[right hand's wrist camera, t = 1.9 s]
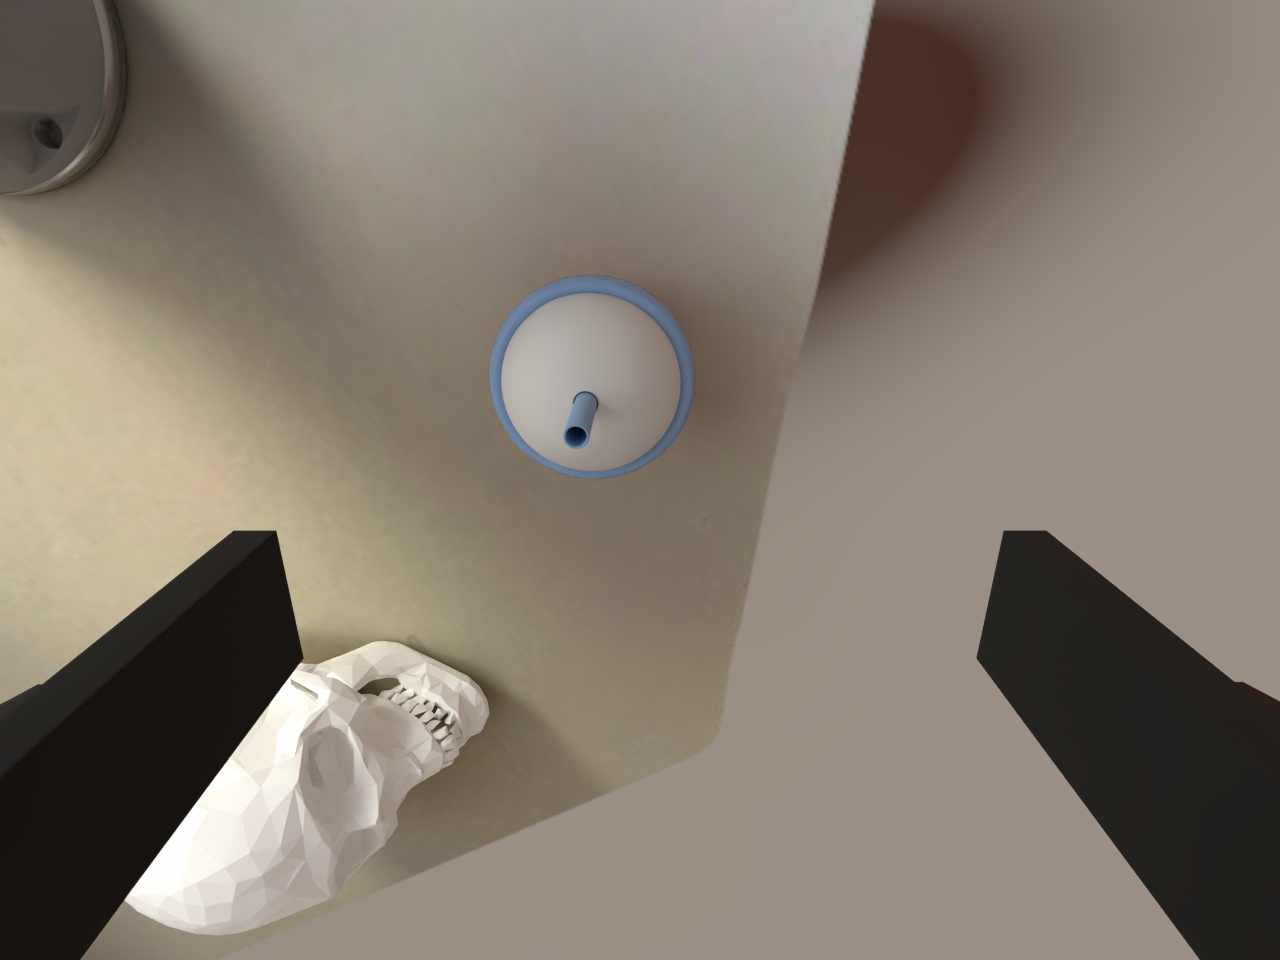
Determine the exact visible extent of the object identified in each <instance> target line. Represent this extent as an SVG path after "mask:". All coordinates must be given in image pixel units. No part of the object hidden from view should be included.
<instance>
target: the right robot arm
mask: <svg viewBox="0 0 1280 960" xmlns="http://www.w3.org/2000/svg"><path fill="white" fill-rule="evenodd" d="M125 92H126V56H125V48H124V42H123V36H122V32H121V27H120V23H119V19H118V16H117V13H116V10H115V7H114V4H113V1H112V0H0V194H5V195H26V194H35V193H41V192H46V191H50V190H53V189H56V188H59V187H61V186H64V185H66V184H68V183H70V182H72V181H74V180H75V179H77V178H78V177H80V176H81V175H83V174H84V173H85V172H86V171H88V170H89V169H90V168H91V167H92V166H93V165H94V164H95V163H96V162H97V161H98V159H99V158H100V157H101V156H102V155H103V153H104V152H105V150H106V149H107V147H108V146H109V144H110V142H111V140H112V138H113V136H114V134H115V132H116V130H117V127H118V124H119V121H120V118H121V114H122V110H123V106H124V100H125ZM302 660H303V654H302V649H301V644H300V640H299V635H298V630H297V626H296V621H295V616H294V612H293V607H292V602H291V598H290V593H289V588H288V583H287V579H286V574H285V569H284V565H283V560H282V555H281V551H280V546H279V541H278V537H277V532H276V531H233V532H232V533H230V534H229V535H228V536H227V537H225V538H224V539H223V540H222V541H220V542H219V543H218V544H217V545H215V546H214V547H213V548H212V549H210V550H209V551H208V552H207V553H205V554H204V555H203V556H202V557H200V558H199V559H198V560H197V561H195V562H194V563H193V564H192V565H190V566H189V567H188V568H187V569H185V570H184V571H183V572H182V573H180V574H179V575H178V576H177V577H176V578H174V579H173V580H172V581H171V582H169V583H168V584H167V585H166V586H164V587H163V588H162V589H161V590H159V591H158V592H157V593H156V594H154V595H153V596H152V597H151V598H149V599H148V600H147V601H146V602H144V603H143V604H142V605H141V606H139V607H138V608H137V609H136V610H134V611H133V612H132V613H131V614H129V615H128V616H127V617H126V618H124V619H123V620H122V621H121V622H120V623H118V624H117V625H116V626H115V627H113V628H112V629H111V630H110V631H108V632H107V633H106V634H105V635H103V636H102V637H101V638H100V639H98V640H97V641H96V642H95V643H93V644H92V645H91V646H90V647H88V648H87V649H86V650H85V651H83V652H82V653H81V654H80V655H78V656H77V657H76V658H75V659H73V660H72V661H71V662H70V663H68V664H67V665H66V666H65V667H63V668H62V669H61V670H60V671H59V672H57V673H56V674H55V675H54V676H52V677H51V678H50V679H49V680H47V681H46V682H45V683H44V684H38V685H36V686H34V687H32V688H30V689H28V690H27V691H25V692H23V693H21V694H19V695H17V696H15V697H13V698H12V699H10V700H8V701H6V702H4V703H2V704H0V960H80V959H81V958H82V956H83V955H84V954H85V952H86V951H87V950H88V948H89V947H90V946H91V944H92V943H93V942H94V940H95V939H96V938H97V936H98V935H99V934H100V932H101V931H102V929H103V928H104V927H105V925H106V924H107V923H108V921H109V920H110V919H111V917H112V916H113V915H114V913H115V912H116V911H117V909H118V908H119V907H120V905H121V904H122V902H123V901H124V900H125V898H126V897H127V896H128V894H129V893H130V892H131V890H132V889H133V888H134V886H135V885H136V884H137V882H138V881H139V880H140V878H141V877H142V876H143V874H144V873H145V871H146V870H147V869H148V867H149V866H150V865H151V863H152V862H153V861H154V859H155V858H156V857H157V855H158V854H159V853H160V851H161V850H162V849H163V847H164V846H165V844H166V843H167V842H168V840H169V839H170V838H171V836H172V835H173V834H174V832H175V831H176V830H177V828H178V827H179V826H180V824H181V823H182V822H183V820H184V819H185V817H186V816H187V815H188V813H189V812H190V811H191V809H192V808H193V807H194V805H195V804H196V803H197V801H198V800H199V799H200V797H201V796H202V795H203V793H204V792H205V791H206V789H207V788H208V786H209V785H210V784H211V782H212V781H213V780H214V778H215V777H216V776H217V774H218V773H219V772H220V770H221V769H222V768H223V766H224V765H225V764H226V762H227V761H228V759H229V758H230V757H231V755H232V754H233V753H234V751H235V750H236V749H237V747H238V746H239V745H240V743H241V742H242V741H243V739H244V738H245V737H246V735H247V734H248V733H249V731H250V730H251V728H252V727H253V726H254V724H255V723H256V722H257V720H258V719H259V718H260V716H261V715H262V714H263V712H264V711H265V710H266V708H267V707H268V706H269V704H270V703H271V701H272V700H273V699H274V697H275V696H276V695H277V693H278V692H279V691H280V689H281V688H282V687H283V685H284V684H285V683H286V681H287V680H288V679H289V677H290V676H291V674H292V673H293V672H294V670H295V669H296V668H297V666H298V665H299V664H300V662H301V661H302ZM977 660H978V661H979V662H980V664H981V665H982V666H983V668H984V669H985V670H986V672H987V673H988V674H989V676H990V677H991V679H992V680H993V681H994V683H995V684H996V685H997V687H998V688H999V689H1000V691H1001V692H1002V693H1003V695H1004V696H1005V697H1006V699H1007V700H1008V701H1009V703H1010V704H1011V706H1012V707H1013V708H1014V710H1015V711H1016V712H1017V714H1018V715H1019V716H1020V718H1021V719H1022V720H1023V722H1024V723H1025V724H1026V726H1027V727H1028V728H1029V730H1030V731H1031V733H1032V734H1033V735H1034V737H1035V738H1036V739H1037V741H1038V742H1039V743H1040V745H1041V746H1042V747H1043V749H1044V750H1045V751H1046V753H1047V754H1048V755H1049V757H1050V758H1051V759H1052V761H1053V762H1054V764H1055V765H1056V766H1057V768H1058V769H1059V770H1060V772H1061V773H1062V774H1063V776H1064V777H1065V778H1066V780H1067V781H1068V782H1069V784H1070V785H1071V786H1072V788H1073V789H1074V790H1075V792H1076V793H1077V795H1078V796H1079V797H1080V799H1081V800H1082V801H1083V803H1084V804H1085V805H1086V807H1087V808H1088V809H1089V811H1090V812H1091V813H1092V815H1093V816H1094V817H1095V819H1096V820H1097V821H1098V823H1099V824H1100V826H1101V827H1102V828H1103V830H1104V831H1105V832H1106V834H1107V835H1108V836H1109V838H1110V839H1111V840H1112V842H1113V843H1114V844H1115V846H1116V847H1117V849H1118V850H1119V851H1120V852H1121V854H1122V855H1123V857H1124V858H1125V859H1126V861H1127V862H1128V863H1129V865H1130V866H1131V867H1132V869H1133V870H1134V871H1135V873H1136V874H1137V876H1138V877H1139V878H1140V880H1141V881H1142V882H1143V884H1144V885H1145V886H1146V888H1147V889H1148V890H1149V892H1150V893H1151V894H1152V896H1153V897H1154V898H1155V900H1156V901H1157V902H1158V904H1159V905H1160V906H1161V908H1162V909H1163V911H1164V912H1165V913H1166V915H1167V916H1168V917H1169V919H1170V920H1171V921H1172V923H1173V924H1174V925H1175V927H1176V928H1177V929H1178V931H1179V932H1180V933H1181V935H1182V936H1183V938H1184V939H1185V940H1186V942H1187V943H1188V944H1189V946H1190V947H1191V948H1192V950H1193V951H1194V952H1195V954H1196V955H1197V956H1198V958H1199V959H1200V960H1280V701H1278V700H1276V699H1274V698H1272V697H1270V696H1268V695H1267V694H1265V693H1263V692H1261V691H1259V690H1257V689H1255V688H1253V687H1251V686H1250V685H1248V684H1246V683H1244V682H1234V681H1233V680H1231V679H1230V678H1229V677H1228V676H1226V675H1225V674H1224V673H1223V672H1221V671H1220V670H1219V669H1218V668H1217V667H1215V666H1214V665H1213V664H1212V663H1210V662H1209V661H1208V660H1207V659H1205V658H1204V657H1203V656H1202V655H1200V654H1199V653H1198V652H1197V651H1195V650H1194V649H1193V648H1191V647H1190V646H1189V645H1188V644H1187V643H1185V642H1184V641H1183V640H1182V639H1180V638H1179V637H1178V636H1177V635H1175V634H1174V633H1173V632H1172V631H1170V630H1169V629H1168V628H1167V627H1165V626H1164V625H1163V624H1162V623H1160V622H1159V621H1158V620H1157V619H1156V618H1154V617H1153V616H1152V615H1151V614H1149V613H1148V612H1147V611H1145V610H1144V609H1143V608H1142V607H1141V606H1139V605H1138V604H1137V603H1136V602H1134V601H1133V600H1132V599H1131V598H1129V597H1128V596H1127V595H1126V594H1124V593H1123V592H1122V591H1121V590H1119V589H1118V588H1117V587H1116V586H1114V585H1113V584H1112V583H1111V582H1109V581H1108V580H1107V579H1106V578H1104V577H1103V576H1102V575H1101V574H1099V573H1098V572H1097V571H1096V570H1095V569H1093V568H1092V567H1091V566H1090V565H1088V564H1087V563H1086V562H1085V561H1083V560H1082V559H1081V558H1080V557H1078V556H1077V555H1076V554H1075V553H1073V552H1072V551H1071V550H1070V549H1068V548H1067V547H1066V546H1065V545H1063V544H1062V543H1061V542H1060V541H1058V540H1057V539H1056V538H1055V537H1053V536H1052V535H1051V534H1050V533H1048V532H1047V531H1004V532H1003V537H1002V541H1001V546H1000V551H999V555H998V560H997V565H996V569H995V574H994V579H993V583H992V588H991V593H990V598H989V602H988V607H987V612H986V617H985V621H984V626H983V631H982V635H981V640H980V644H979V649H978V654H977Z"/></svg>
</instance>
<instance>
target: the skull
mask: <svg viewBox="0 0 1280 960" xmlns="http://www.w3.org/2000/svg"><path fill="white" fill-rule="evenodd" d="M387 677H388V678H397V679H398V681H399V682H400V684H399V685H397V686H395V687H394V688H392V689H391V690H384V691H381V693H380V695H379V696H376V695H373V694H360V693H358V692H357V691H358V690H359V689H361V688H362V687H363V686H365V685H366V684H367V683H368V682H370V681H373V680H377V679H382V678H387ZM403 688H405V689H407V690H406V691H404V692H403V693H401V691H402V689H403ZM400 693H401V694H400ZM394 694H395V695H394ZM393 695H394V696H393ZM413 695H416V697H414V698H412V697H413ZM392 697H393V698H392ZM411 698H412V699H411ZM390 699H391V700H390ZM406 700H407V701H406ZM405 701H406V702H405ZM404 702H405V703H404ZM424 702H427V704H426V705H424V704H423V703H424ZM403 703H404V704H403ZM402 704H403V705H402ZM400 705H402V706H400ZM435 705H436V706H437V707H439V708H440V709H439V708H438V709H437V711H436V713H435V714H434V713H433V712H432V710H433V708H434V706H435ZM415 706H416V707H415ZM414 707H415V708H414ZM413 709H414V710H413ZM425 711H427V712H426V713H425V714H424V715H423V716H422V717H420V718H419V719H418V718H417V717H416V716H414V715H417V714H420V713H423V712H425ZM410 712H411V713H410ZM489 713H490V712H489V707H488V702H487V699H486V697H485V695H484V693H483V692H482V690H481V688H480V687H479V685H477V684H476V683H475V682H474V681H473V680H472V679H471V678H470V677H468V676H467V675H465V674H463V673H461V672H459V671H457V670H455V669H453V668H451V667H448V666H446V665H444V664H442V663H440V662H438V661H436V660H434V659H432V658H430V657H428V656H426V655H424V654H422V653H420V652H418V651H416V650H414V649H412V648H409V647H407V646H405V645H403V644H400V643H396V642H388V641H378V642H372V643H370V644H367V645H365V646H363V647H360V648H358V649H356V650H353V651H351V652H349V653H346V654H344V655H341V656H338V657H335V658H332V659H330V660H327V661H325V662H322V663H320V664H305V663H300V664H299V665H298V666H297V668H296V669H295V670H294V672H293V673H292V674H291V676H290V677H289V679H288V680H287V681H286V683H285V684H284V685H283V687H282V688H281V689H280V691H279V692H278V693H277V695H276V696H275V697H274V699H273V700H272V701H271V703H270V704H269V706H268V707H267V708H266V710H265V711H264V712H263V714H262V715H261V716H260V718H259V719H258V720H257V722H256V723H255V724H254V726H253V727H252V728H251V730H250V731H249V733H248V734H247V735H246V737H245V738H244V739H243V741H242V742H241V743H240V745H239V746H238V747H237V749H236V750H235V751H234V753H233V754H232V755H231V757H230V758H229V759H228V761H227V762H226V764H225V765H224V766H223V768H222V769H221V770H220V772H219V773H218V774H217V776H216V777H215V778H214V780H213V781H212V782H211V784H210V785H209V786H208V788H207V789H206V791H205V792H204V793H203V795H202V796H201V797H200V799H199V800H198V801H197V803H196V804H195V805H194V807H193V808H192V809H191V811H190V812H189V813H188V815H187V816H186V817H185V819H184V820H183V822H182V823H181V824H180V826H179V827H178V828H177V830H176V831H175V832H174V834H173V835H172V836H171V838H170V839H169V840H168V842H167V843H166V844H165V846H164V847H163V849H162V850H161V851H160V853H159V854H158V855H157V857H156V858H155V859H154V861H153V862H152V863H151V865H150V866H149V867H148V869H147V870H146V871H145V873H144V874H143V876H142V877H141V878H140V880H139V881H138V882H137V884H136V885H135V886H134V888H133V889H132V890H131V892H130V893H129V894H128V896H127V897H126V898H125V901H126V902H127V903H129V904H130V905H131V906H132V907H134V908H135V909H136V910H137V911H138V912H140V913H142V914H144V915H146V916H148V917H150V918H152V919H154V920H156V921H158V922H160V923H162V924H164V925H167V926H170V927H173V928H176V929H180V930H183V931H187V932H190V933H194V934H207V935H225V934H234V933H240V932H244V931H247V930H250V929H255V928H258V927H261V926H263V925H266V924H268V923H271V922H273V921H276V920H279V919H281V918H284V917H286V916H289V915H291V914H294V913H296V912H299V911H301V910H304V909H306V908H309V907H311V906H313V905H316V904H318V903H321V902H323V901H326V900H328V899H331V898H333V897H334V896H335V895H336V894H337V892H338V891H339V890H340V888H341V887H342V886H343V884H344V883H345V882H346V881H347V880H348V879H349V878H350V877H351V876H352V874H353V873H354V872H355V871H356V870H357V869H358V868H359V867H360V866H361V865H362V864H363V863H364V862H365V861H366V860H367V859H368V858H369V857H370V856H371V855H372V854H373V853H375V852H376V851H377V850H379V849H380V848H381V847H382V846H384V845H385V843H386V842H387V840H388V839H389V838H390V836H391V835H392V834H393V832H394V831H395V829H396V828H397V826H398V819H397V812H396V811H397V810H398V808H399V806H400V805H401V803H402V801H403V800H404V798H405V796H406V795H407V793H408V792H409V790H410V789H411V788H412V787H414V786H415V785H417V784H419V783H420V782H422V781H424V780H425V779H427V778H429V777H430V776H432V775H434V774H436V773H438V772H439V771H440V769H442V768H445V767H447V766H449V765H451V764H452V763H453V761H454V758H455V757H457V756H458V755H459V749H460V747H461V746H463V745H465V743H466V742H467V740H468V739H469V737H471V736H473V735H476V734H478V733H480V732H481V731H482V730H483V727H484V725H485V723H486V720H487V718H488V716H489ZM445 714H447V715H448V716H447V718H446V719H445V721H444V722H445V723H446V724H449V725H446V726H444V727H441V728H439V729H437V730H434V731H432V732H431V730H432V729H433V728H434V727H435V726H436V725H437V724H438V723H439V722H440V721H438V720H440V719H441V718H442V717H443V716H444V715H445ZM433 717H434V718H436V719H438V720H433V721H430V722H429V723H428V724H427V725H425V724H424V723H426V722H427V721H429V720H430V719H432V718H433ZM452 722H453V723H452Z"/></svg>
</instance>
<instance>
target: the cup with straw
mask: <svg viewBox="0 0 1280 960" xmlns="http://www.w3.org/2000/svg"><path fill="white" fill-rule="evenodd" d="M489 385H490V392H491V397H492V401H493V405H494V408H495V410H496V413H497V416H498V418H499V420H500V422H501V424H502V425H503V427H504V429H505V430H506V432H507V433H508V435H509V436H510V438H511V439H512V440H513V441H514V442H515V444H516V445H517V446H518V447H519V448H520V449H521V450H522V451H523V452H524V453H526V454H527V455H528V456H529V457H531V458H532V459H533V460H535V461H536V462H538V463H539V464H541V465H543V466H545V467H547V468H549V469H551V470H553V471H556V472H558V473H561V474H564V475H568V476H572V477H577V478H585V479H603V478H611V477H616V476H620V475H624V474H627V473H630V472H632V471H635V470H637V469H639V468H641V467H643V466H645V465H646V464H648V463H650V462H651V461H653V460H654V459H655V458H657V457H658V456H659V455H660V454H661V453H662V452H664V451H665V450H666V449H667V448H668V446H669V445H670V444H671V443H672V442H673V441H674V439H675V438H676V437H677V435H678V434H679V432H680V430H681V429H682V427H683V425H684V423H685V421H686V419H687V416H688V414H689V411H690V408H691V404H692V400H693V395H694V386H695V372H694V363H693V358H692V354H691V350H690V347H689V344H688V341H687V339H686V337H685V334H684V332H683V330H682V329H681V327H680V325H679V324H678V322H677V321H676V319H675V318H674V317H673V315H672V314H671V313H670V312H669V310H668V309H667V308H666V307H665V306H664V305H663V304H662V303H661V302H659V301H658V300H657V299H656V298H655V297H653V296H652V295H651V294H649V293H648V292H646V291H645V290H643V289H641V288H639V287H638V286H635V285H633V284H631V283H629V282H626V281H623V280H620V279H617V278H612V277H608V276H600V275H579V276H572V277H567V278H563V279H559V280H556V281H554V282H551V283H549V284H546V285H544V286H542V287H541V288H539V289H537V290H535V291H534V292H532V293H531V294H529V295H528V296H527V297H526V298H525V299H523V300H522V301H521V302H520V303H519V304H518V305H517V306H516V307H515V308H514V309H513V310H512V312H511V313H510V314H509V316H508V317H507V318H506V320H505V321H504V323H503V325H502V326H501V328H500V330H499V332H498V334H497V337H496V339H495V342H494V345H493V349H492V353H491V358H490V365H489Z"/></svg>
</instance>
